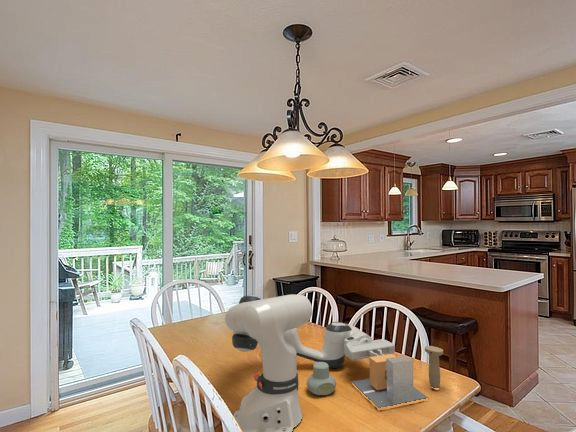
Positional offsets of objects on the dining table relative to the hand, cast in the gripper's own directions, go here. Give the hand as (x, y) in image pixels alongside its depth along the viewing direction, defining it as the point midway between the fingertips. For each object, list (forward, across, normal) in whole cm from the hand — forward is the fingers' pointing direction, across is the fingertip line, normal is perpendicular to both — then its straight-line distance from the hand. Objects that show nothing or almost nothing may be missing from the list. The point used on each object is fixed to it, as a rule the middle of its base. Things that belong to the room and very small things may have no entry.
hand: (381, 357), depth 126 cm
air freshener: (-4, +23, -11) cm, 26 cm away
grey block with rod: (+6, 0, -10) cm, 12 cm away
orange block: (+3, 0, -9) cm, 9 cm away
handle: (+8, -18, -11) cm, 22 cm away
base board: (+4, 0, -11) cm, 12 cm away
